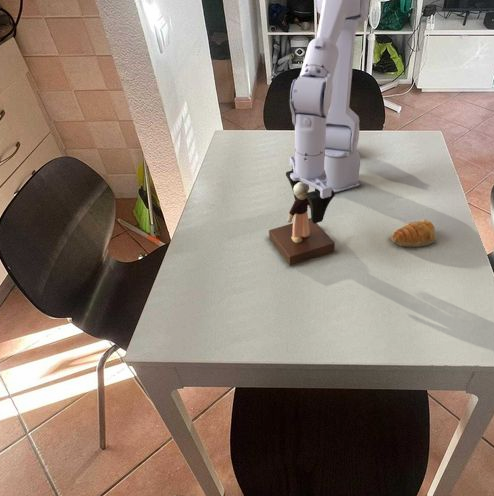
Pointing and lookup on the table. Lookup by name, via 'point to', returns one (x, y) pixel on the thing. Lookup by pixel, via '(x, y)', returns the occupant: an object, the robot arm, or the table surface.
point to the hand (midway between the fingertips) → (309, 212)
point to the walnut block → (301, 243)
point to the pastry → (415, 234)
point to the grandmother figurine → (300, 213)
